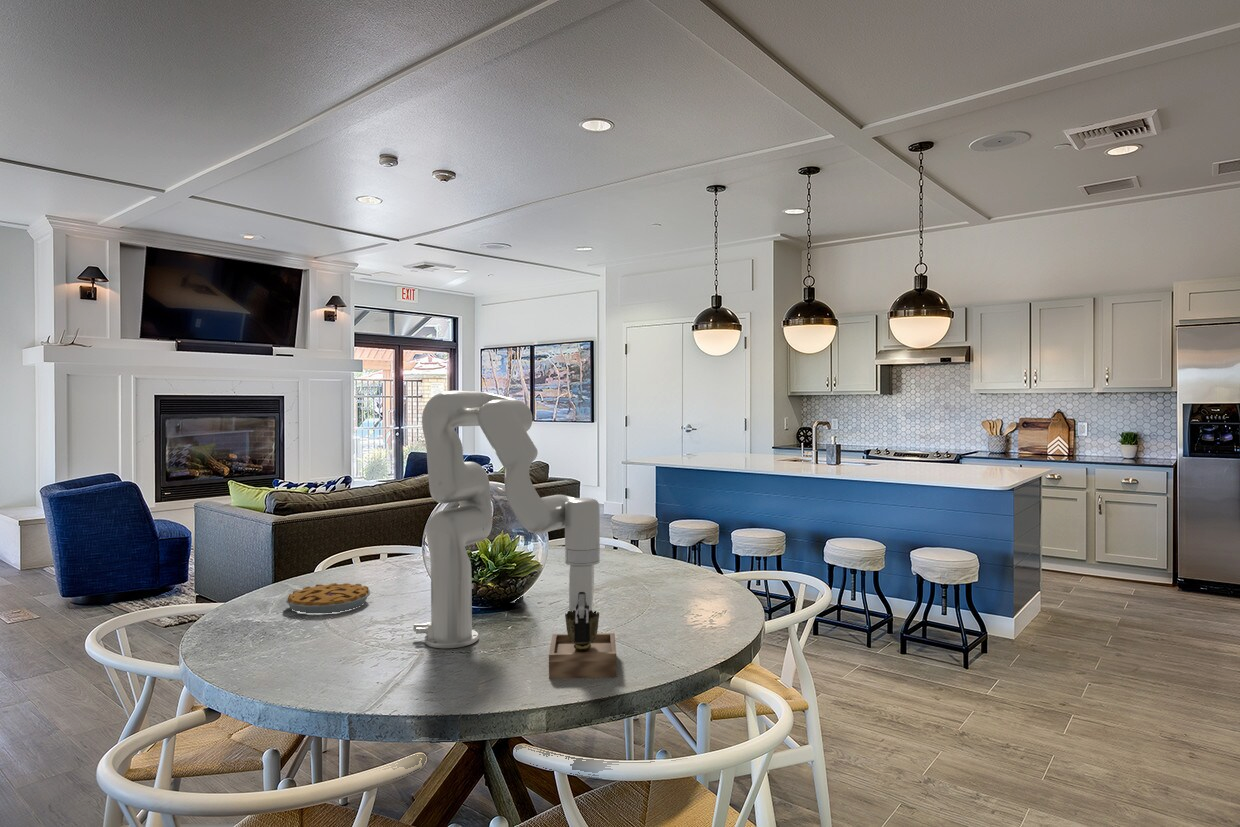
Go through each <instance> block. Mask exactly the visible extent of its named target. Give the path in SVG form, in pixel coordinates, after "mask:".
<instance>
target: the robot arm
mask: <svg viewBox="0 0 1240 827" xmlns="http://www.w3.org/2000/svg"><path fill="white" fill-rule="evenodd" d="M421 425H422V432H423V436H424V441H425V447H426V450H425V451H426V462H427V477H428V487H429V493H430V496H431V498H432V499H433V500H434V501H435V502H436V503H439V504H453V503H454V504H455V503H458V505H459V506H458V507H452V508H448V509H447V508H446V509H444V510H443V509H442V510H440V511H438V512H436V513H434V514H433V515H432V516H431V517H430V518H429V520H428V522H427V523H426V528H425V533H426V537H425V538H426V541H427V546H428V551H429V560H430V561H429V562H430V608H431V609H430V621H428V622H426V623H421V622H420V623H419V622H417V623H416V622H415V623H413V626H412V627H413V628H412V630H413V632H414V633H416V635H417V634H425V637H424V643H425V645H427V646H428V647H430V648H434V649H436V648H437V649H456V648H462V647H463V648H464V647H467V646H470V645H472V644H474V643H476V642H477V641H478V640H479V633H478V632H477V631H476V630H474V629H473V627H472V626H473V623H472V622H473V618H472V617H473V614H472V613H473V608H472V607H473V606H472V601H473V600H472V597H473V596H472V594H473V593H472V591H473V590H472V589H473V588H472V564H471V559H470V557H469V554H468V552H467V550H466V546H469V545H470V546H472V545H473V544H476V543H480V542H483V541H485V539H487V538H488V536H490V534H491V531H492V528H493V512H492V498H491V496H492V495H491V486H490V479H489V475H488V473H487V472H486V470H485V468H484V467H483V466H482V465H481V464H479V463H477V462H475V461H465V460H464V452H463V450H464V449H463V444H462V440H461V438H460V436H459V435H458V433H457V431H456V430H455V429H456V428H458V427H480V429H481V431H482V432H483V434H484V436H485V438H486V440H487V441H488V443H489V445H490V446H491V448H492V450H493V451H494V453H495V455H496V456H497V458H498V460H499V462H500V463H501V465H502V466H503V469H504V478H503V479H504V480H503V482H504V483H503V484H504V491H505V496H506V500H507V502H508V504H509V506H510V508H511V510H512V511H513V513H514V515H515V517H516V518H517V521H519V523H520V525H522V527H523V528H524V529H525V530H526V531H528V532H529V533H531V534H536V535H537V534H538V535H540V534H544V533H548V532H551V531H556V530H561V529H564V558H565V559H564V563H565V564H566V565H568V566H569V570H568V571H569V574H568V577H569V578H568V587H569V588H568V590H569V591H568V592H569V593H568V594H569V595H568V596H569V598H568V601H569V602H568V603H569V604H568V611H570V612H572V611H573V610H575V611H576V616H575V623H574V640H575V642H589V641H590V622H588V620H589V612H590V611H591V610H592V611H593V609H592V608H593V602H594V592H595V590H594V589H595V565H598V564H600V562H601V560H600V559H601V556H600V555H601V553H600V549H601V548H600V545H601V544H600V543H601V542H600V540H601V539H600V538H601V537H600V533H601V528H600V526H601V525H600V520H601V519H600V512H601V511H600V510H601V509H600V503H599V501H598V500H597V499H595V498H590V497H573V496H570V495H566V494H554V495H547V496H542V497H541V496H540V495H539V494H538V491H537V490H536V488H535V487H534V485H533V483H532V480H531V476H530V466H531V465H532V463H533V462H535V460H536V459H537V457H538V454H539V453H538V449H537V447H536V445H535V444H534V442H533V441H532V439H531V437H530V436H529V434H528V431H529V430H531V427H532V425H533V414H532V411H531V408H530V407H529V406H528V405H527V404H526V403H525V402H524V401H522V400H520V399H516V398H512V397H507V396H502V395H499V394H495V393H490V392H487V391H486V392H485V391H475V390H474V391H472V390H471V391H470V390H469V391H466V390H450V391H449V390H447V391H442V392H439V393H437V394H435V395H433V396H432V397H431V398H430V399H429V400H428V401H427V402H426V404H425V406H424V408H423V411H422V415H421Z"/></svg>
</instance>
